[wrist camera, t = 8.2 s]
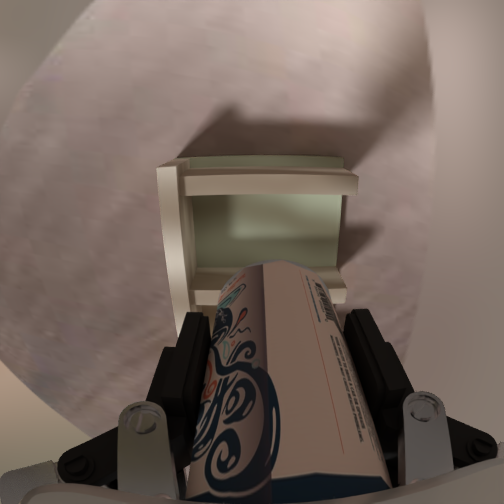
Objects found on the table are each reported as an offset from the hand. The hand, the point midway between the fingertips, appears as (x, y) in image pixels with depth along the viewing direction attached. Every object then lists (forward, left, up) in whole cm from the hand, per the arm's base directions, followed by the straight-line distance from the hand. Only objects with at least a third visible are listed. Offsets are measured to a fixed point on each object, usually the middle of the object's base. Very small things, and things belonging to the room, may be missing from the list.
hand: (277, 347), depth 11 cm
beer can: (0, 0, -3) cm, 3 cm away
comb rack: (-4, 0, -14) cm, 15 cm away
